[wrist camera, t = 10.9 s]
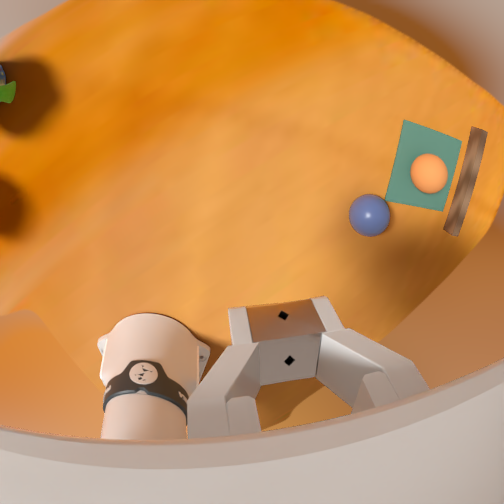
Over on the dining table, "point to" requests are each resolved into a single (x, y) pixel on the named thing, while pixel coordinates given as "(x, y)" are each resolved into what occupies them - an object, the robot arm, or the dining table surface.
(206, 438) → the robot arm
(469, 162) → the rail
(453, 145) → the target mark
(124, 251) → the dining table surface
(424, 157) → the orange ball
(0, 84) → the snack cup
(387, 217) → the blue ball
